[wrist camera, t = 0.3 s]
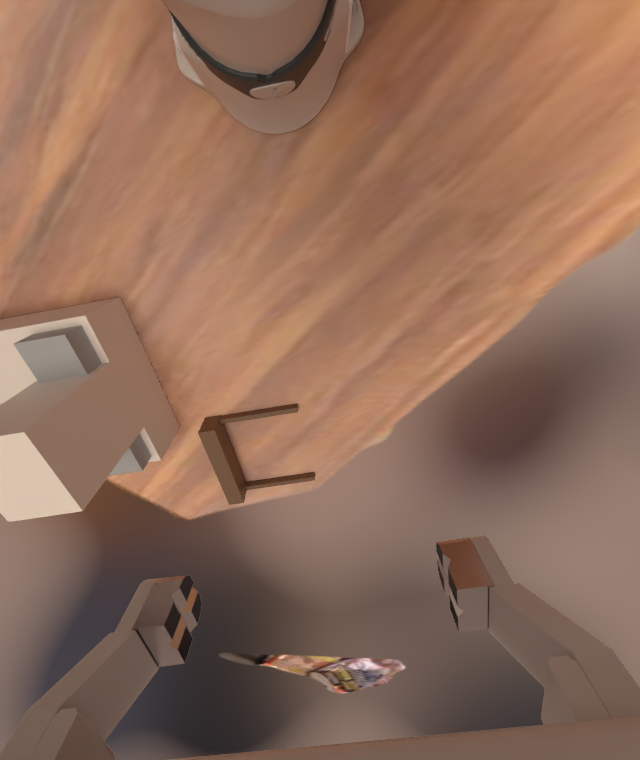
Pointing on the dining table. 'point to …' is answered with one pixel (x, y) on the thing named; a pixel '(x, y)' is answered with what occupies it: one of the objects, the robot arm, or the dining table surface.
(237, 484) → the glasses frame
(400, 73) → the dining table surface
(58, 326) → the pillar on square base
